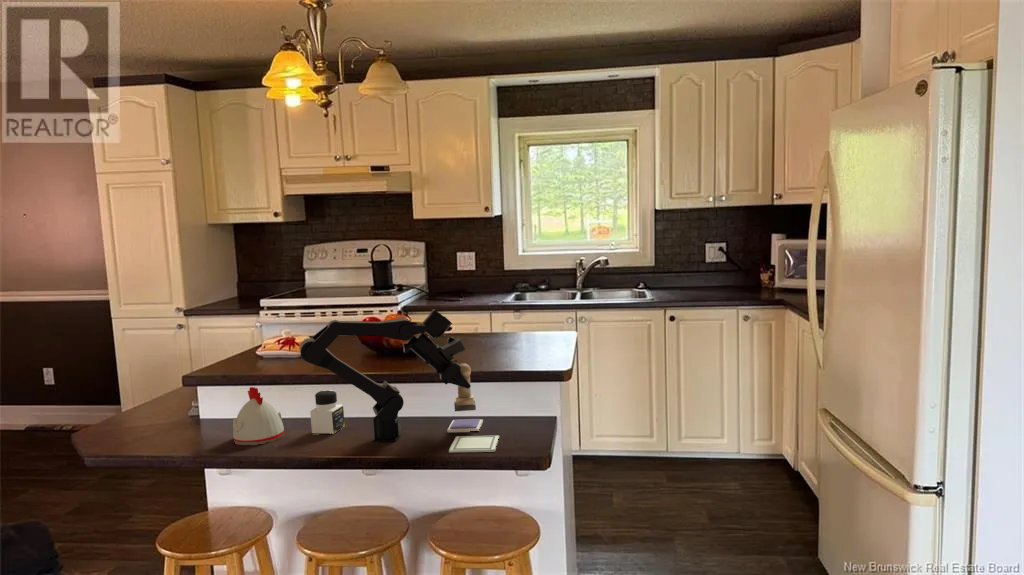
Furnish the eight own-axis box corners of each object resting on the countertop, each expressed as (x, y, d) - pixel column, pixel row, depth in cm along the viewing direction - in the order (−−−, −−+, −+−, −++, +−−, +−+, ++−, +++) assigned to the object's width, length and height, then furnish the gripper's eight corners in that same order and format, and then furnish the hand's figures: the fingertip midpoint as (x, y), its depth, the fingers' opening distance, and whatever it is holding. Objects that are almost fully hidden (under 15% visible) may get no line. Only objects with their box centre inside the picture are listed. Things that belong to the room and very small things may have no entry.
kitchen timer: (272, 427, 199) (267, 379, 197) (292, 436, 189) (288, 386, 187) (225, 439, 189) (221, 389, 188) (245, 449, 179) (240, 396, 178)
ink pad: (447, 432, 185) (447, 428, 185) (453, 422, 194) (452, 418, 194) (478, 431, 184) (478, 427, 184) (482, 422, 193) (482, 418, 193)
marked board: (448, 452, 168) (448, 449, 168) (456, 438, 179) (456, 436, 179) (494, 451, 167) (494, 449, 167) (499, 437, 178) (499, 435, 178)
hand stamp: (454, 411, 185) (452, 366, 184) (454, 406, 190) (452, 362, 189) (475, 410, 186) (473, 364, 185) (474, 405, 191) (473, 361, 190)
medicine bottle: (334, 435, 188) (330, 394, 187) (311, 434, 189) (308, 394, 188) (345, 427, 195) (342, 388, 194) (323, 427, 196) (320, 388, 195)
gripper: (451, 334, 176) (493, 371, 179) (444, 325, 194) (482, 358, 197) (423, 365, 175) (466, 401, 178) (419, 353, 193) (457, 386, 197)
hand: (468, 385), depth 188 cm, fingers closed on hand stamp, 4 cm apart
